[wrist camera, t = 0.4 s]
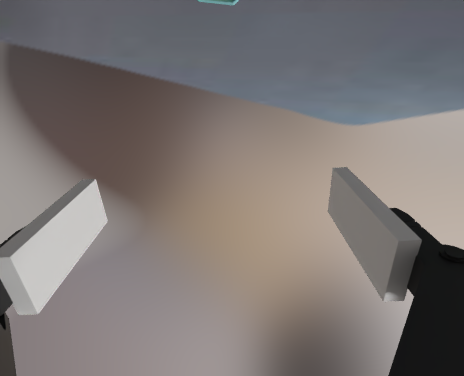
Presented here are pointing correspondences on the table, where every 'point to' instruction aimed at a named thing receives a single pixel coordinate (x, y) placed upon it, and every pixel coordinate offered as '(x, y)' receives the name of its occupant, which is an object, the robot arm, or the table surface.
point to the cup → (220, 1)
